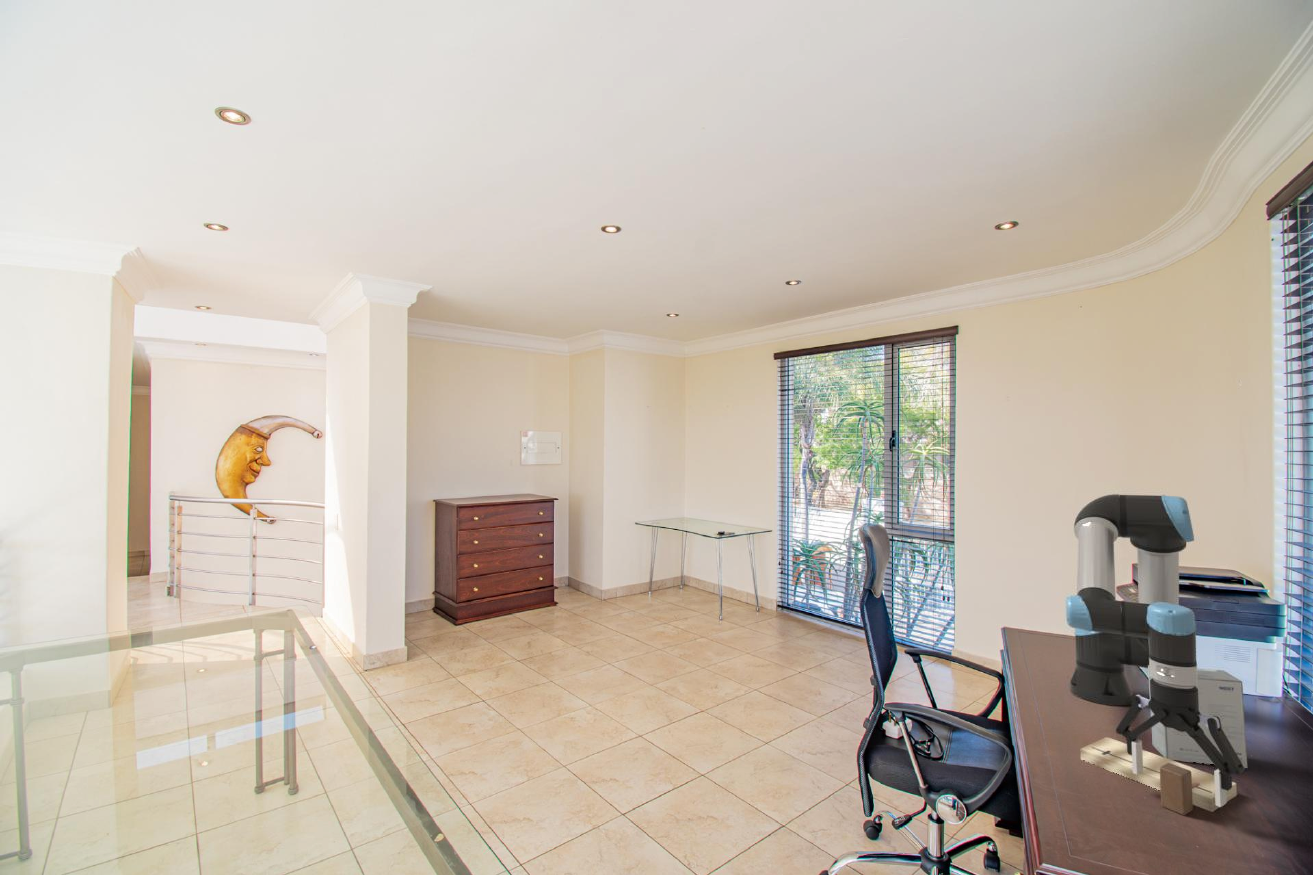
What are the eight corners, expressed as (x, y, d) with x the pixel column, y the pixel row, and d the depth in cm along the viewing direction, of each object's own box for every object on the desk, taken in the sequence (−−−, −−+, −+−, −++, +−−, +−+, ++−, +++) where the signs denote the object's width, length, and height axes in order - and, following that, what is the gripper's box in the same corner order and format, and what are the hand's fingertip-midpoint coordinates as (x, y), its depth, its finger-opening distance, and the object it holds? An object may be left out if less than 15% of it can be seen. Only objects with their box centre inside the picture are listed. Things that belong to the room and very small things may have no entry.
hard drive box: (1229, 754, 142) (1225, 670, 143) (1249, 770, 135) (1245, 681, 136) (1150, 745, 148) (1147, 663, 148) (1165, 760, 140) (1161, 674, 141)
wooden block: (1184, 816, 118) (1183, 775, 119) (1160, 806, 122) (1158, 766, 122) (1193, 810, 120) (1192, 770, 121) (1169, 800, 124) (1167, 761, 124)
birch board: (1080, 759, 141) (1080, 748, 141) (1106, 747, 147) (1106, 736, 147) (1212, 812, 120) (1211, 798, 120) (1236, 795, 126) (1236, 782, 126)
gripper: (1095, 667, 131) (1098, 764, 131) (1247, 708, 109) (1253, 826, 109) (1112, 661, 135) (1116, 756, 134) (1263, 699, 113) (1268, 813, 112)
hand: (1177, 787), depth 122 cm, fingers open, 13 cm apart
